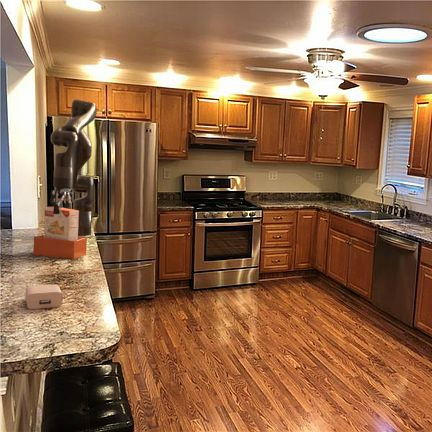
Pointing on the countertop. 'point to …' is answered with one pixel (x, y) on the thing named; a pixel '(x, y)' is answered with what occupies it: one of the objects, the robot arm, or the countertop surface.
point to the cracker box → (61, 224)
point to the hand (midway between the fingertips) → (61, 213)
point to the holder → (59, 247)
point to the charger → (43, 296)
